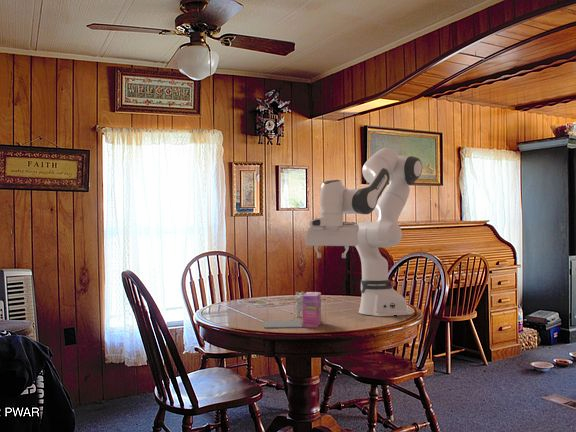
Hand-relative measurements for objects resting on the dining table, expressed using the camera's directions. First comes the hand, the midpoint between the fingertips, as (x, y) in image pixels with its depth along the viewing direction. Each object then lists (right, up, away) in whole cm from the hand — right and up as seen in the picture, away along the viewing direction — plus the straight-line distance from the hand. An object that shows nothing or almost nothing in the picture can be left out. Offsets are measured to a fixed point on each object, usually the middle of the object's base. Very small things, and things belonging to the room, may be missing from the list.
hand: (331, 257), depth 197 cm
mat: (-19, -25, -2) cm, 31 cm away
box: (-7, -25, -2) cm, 27 cm away
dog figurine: (-10, -26, +17) cm, 32 cm away
